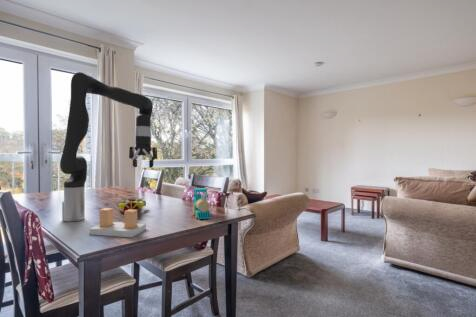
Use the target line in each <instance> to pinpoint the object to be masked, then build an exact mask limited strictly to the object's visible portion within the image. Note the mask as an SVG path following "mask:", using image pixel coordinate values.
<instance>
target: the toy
mask: <svg viewBox="0 0 476 317" xmlns="http://www.w3.org/2000/svg"><path fill="white" fill-rule="evenodd" d="M118 200H123V201H118V202H116V203H117V207H118V208H120V209H121V210H123V212H124V211H126V210H129V209H133V210H137V216H138V215H139V210H140V209H143V207H146V205H147V203H146V197H141V198H140V197H139V198H138V197H135V198H127V197H126V198H124V197H118Z"/></svg>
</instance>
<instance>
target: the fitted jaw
mask: <svg viewBox="0 0 476 317" xmlns="http://www.w3.org/2000/svg"><path fill="white" fill-rule="evenodd" d="M113 222H114V208H113V207H112V208H111V207H110V208H109V207H104V208H101V209H99V224H100V227H110V226H113Z"/></svg>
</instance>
